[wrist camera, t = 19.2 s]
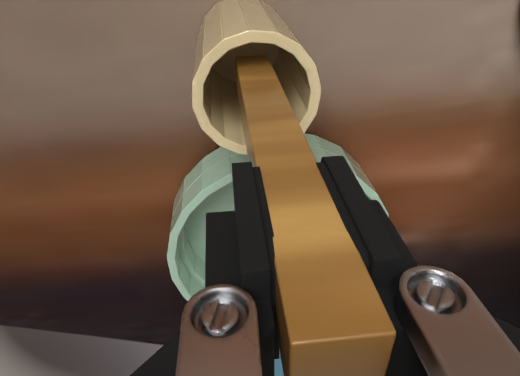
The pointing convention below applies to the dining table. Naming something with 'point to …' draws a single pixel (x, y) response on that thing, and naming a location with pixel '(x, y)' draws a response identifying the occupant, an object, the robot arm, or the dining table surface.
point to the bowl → (222, 208)
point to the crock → (224, 74)
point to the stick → (309, 244)
